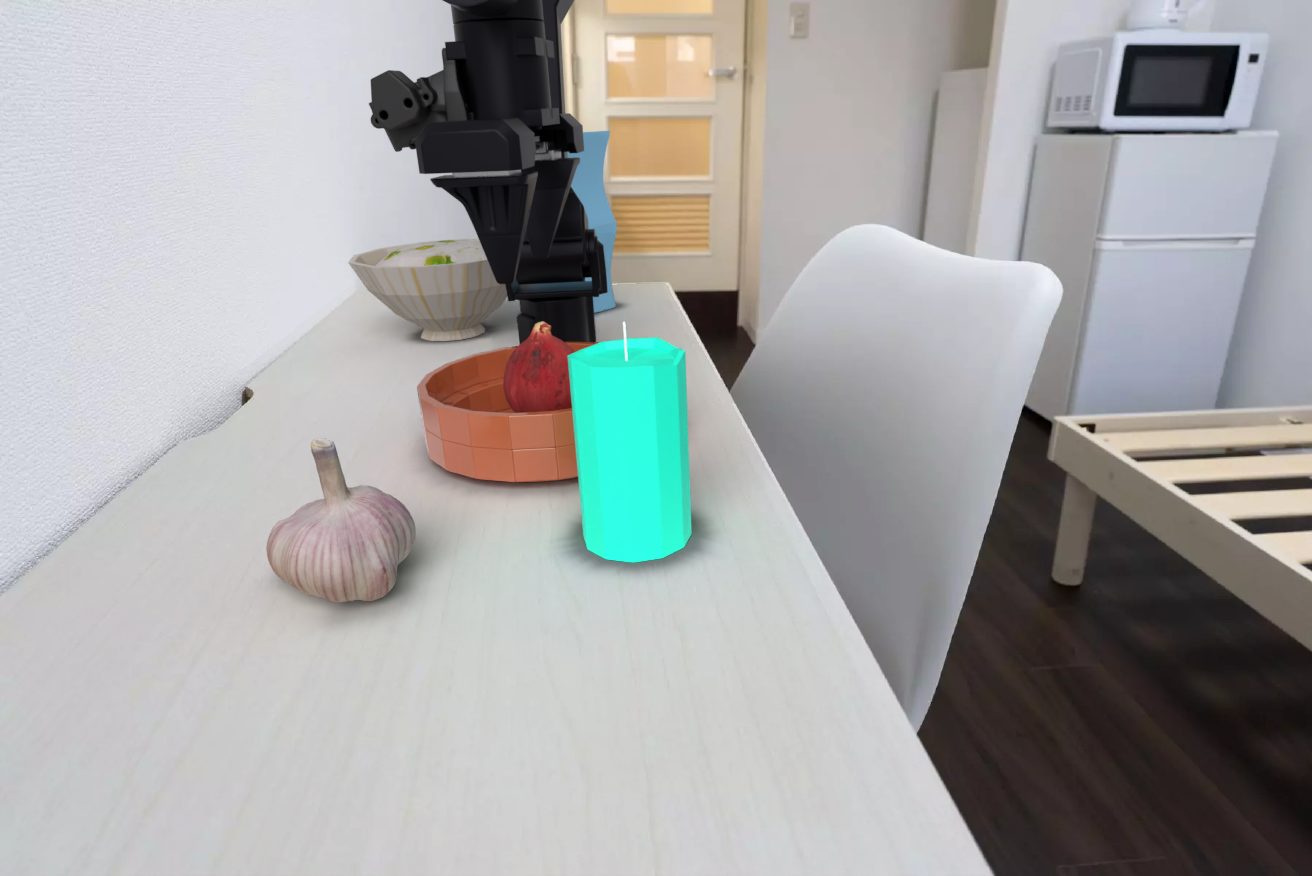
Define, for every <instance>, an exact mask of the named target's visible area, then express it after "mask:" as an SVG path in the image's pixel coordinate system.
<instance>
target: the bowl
mask: <svg viewBox="0 0 1312 876" xmlns="http://www.w3.org/2000/svg"><path fill="white" fill-rule="evenodd" d="M347 264H348V265H349V266H350V267H351V269H352V270H353V271H354V273H355V275H356V276H357V277H358V279H359V280H360V281H361V283H362V284H363V285H364V287H365V288H366V290H367V291H368V292H369V293H371V294H372V295H373V296H374V297H375V298H376V299H377V300H379V302H381V303H382V304H383V305H384V306H386V307H387V308H388V309H389V310H391V311H392V313H394V314H395V315H396V316H398V317H400V318H402V319H405V320H406V321H408V322H410V323H412V324H414V325H415V326H418V327H420V328H422V329H423V330H422V332H421V335H420V339H422V340H425V341H430V342H449V341H450V342H451V341H460V340H465V339H471V338H475V337H478V336H479V335H482V334H484V333H485V332H486V328H485V326H484V325H482V324H481V323H482V322H483V321H484V320H486V319H487V318H488V317H489V316H490V315H492V314H493V313H494V312H496V310H498V309H499V308H500V307H501V306H502V305H503V304H504V302H505V301H506V300H507V299H508V296H507V291H506V285H505V284H498V283H497V282H496V279H495V277H494V275H493V272H492V270H491V267H490V265H489V262H488V260H487V258H486V255H485V253H484V250H483V248H482V246H481V243H480V241H479V238H461V239H460V238H458V239H444V240H430V241H419V242H414V243H406V244H399V245H393V246H387V247H380V248H375V249H372V250H369V251H365V252H361V253H358V254H353V255H352V257H351V258H350V259H349V261H348V262H347Z"/></svg>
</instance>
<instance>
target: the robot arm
mask: <svg viewBox="0 0 1312 876" xmlns="http://www.w3.org/2000/svg"><path fill="white" fill-rule="evenodd" d="M442 2H445V3H446V4H448V5H450V10H451V18H452V19H451V20H452V26H453V27H452V28H453V35H454V41H444V46H445V47H442V48H441V59H442V68H443V69H442V70H440V71H438V72H435V73H433V74H431V75H429V76H420V77H418V78H417V79H416V81H415V82H414V81H413V80H412V79H411V78H410V77H408V75H406V74H405V73H404V72H403V71H400V70H394V69H393V70H389V69H387V70H386V71H384V72H382V73H380V74H378V75H376V76H373V77H372V78H370V92H371V93H370V95H371V98H370V99H371V101H370V102H368V107H370V110H371V114H372V115H371V116H370V124H371V125H372V127H373V128H375V129H377V130H378V129H380V130H381V129H384V132H385V134H386V136H387V138H388V140H389V142H390V144H391V146H392V148H393V151H395V152H396V153H399V152H401V151H403V149H406V148H409V149H410V150H415V152H416V159H417V166H418V172H419V174H420V175H435V174H444V175H440V176H435V177H432V178H430V182H431V183H432V185H433V186H435V188H439V189H440V188H441V189H442V190H443V191H445V192H446V193H448V195H450V196H451V197H453V198H454V199H456V200H457V201H458V202H459V203H461V204H462V206H463V207H464V210H465V212H466V214H467V216H468V217H469V220H470V222H471V225H472V227H473V229H474V231H475V232H476V235H477V239H479V241H480V243H481V246H482V248H483V250H484V253H485V255H486V258H487V260H488V262H489V265H490V267H491V270H492V272H493V275H494V277H495V279H496V282H497V283H498V284H505V285H506V291H507V301H508V302H515V301H518V302H519V309H520V310H519V313H518V314H517V315H516V322H517V323H516V324H517V334H518V342H519V344H518V345H520V344H521V343H522V342H523V341H525V340H526V339H527V338H528V337H529V336H530V334H531V332H532V330H533V328H534V326H535V324H536V323H538V322H542V321H543V322H546V323H547V324H548V325H550V326H551V329H550V332H551V334H552V336H554V337H556V338H558V339H560V340H562V341H563V342H597V331H596V320H595V319H596V318H595V313H594V304H593V297H599V295H600V294H604V293H607V292H608V289H607V275H606V264H605V255H604V246H603V244H602V243H601V242H599V241H598V237H597V236H596V233H595V229H589V227H588V217H587V214H586V212H585V209H584V206H583V204H582V203H581V201H580V200H579V198H578V197H577V195H576V193H575V192H574V190H573V189H572V187H571V184H572V181H573V178H574V175H575V172H576V169H577V166H578V165H579V163H580V158H568V152H569V153H579V152H583V151H584V140H583V132H584V130H583V129H584V128H583V127H584V126H583V124H581V123H580V122H579V121H578V120H577V119H576V118H575V116H573V115H572V114H571V113H570V112H569V113H567V112H566V99H565V98H566V97H565V80H564V61H563V59H564V58H563V42H562V41H563V40H562V23H563V22H564V20H565V18H566V16H567V14H568V13H569V11H570V9H571V7H572V6H573V4H574V2H575V0H442ZM588 277H592V281H585V278H588Z"/></svg>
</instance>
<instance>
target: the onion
mask: <svg viewBox="0 0 1312 876" xmlns="http://www.w3.org/2000/svg"><path fill="white" fill-rule="evenodd" d="M550 329H551V326H550V325H548V324H547V323H546V322H543V321H542V322H538V323H536V324H535V326H534V328H533V330H532V332H531V334H530V336H529V337H528V338H527V339H526V340H525V341H523V342H522V343H521V344H518V345H517V346H518V347H517V348H516V349H515V350H514V351H513V353H512V354H511V356H510V358H509V360H508V362H507V364H506V368H505V373H504V381H503V389H504V393H505V397H506V400H507V402H508V404H509V405H510V407H511V408H512V410H513V411H514V412H515V413H525V412H544V411H556V410H562V409H569V408H572V402H571V390H570V379H569V368H568V356H567V355H570V354H572V353H574V352H575V351H574V350H573V349H572V348H571V347H570V346H569V345H567V344H566V343H565V342H563V341H562V340H560V339H558V338H556V337H554V336H552V334H551V332H550Z"/></svg>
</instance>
